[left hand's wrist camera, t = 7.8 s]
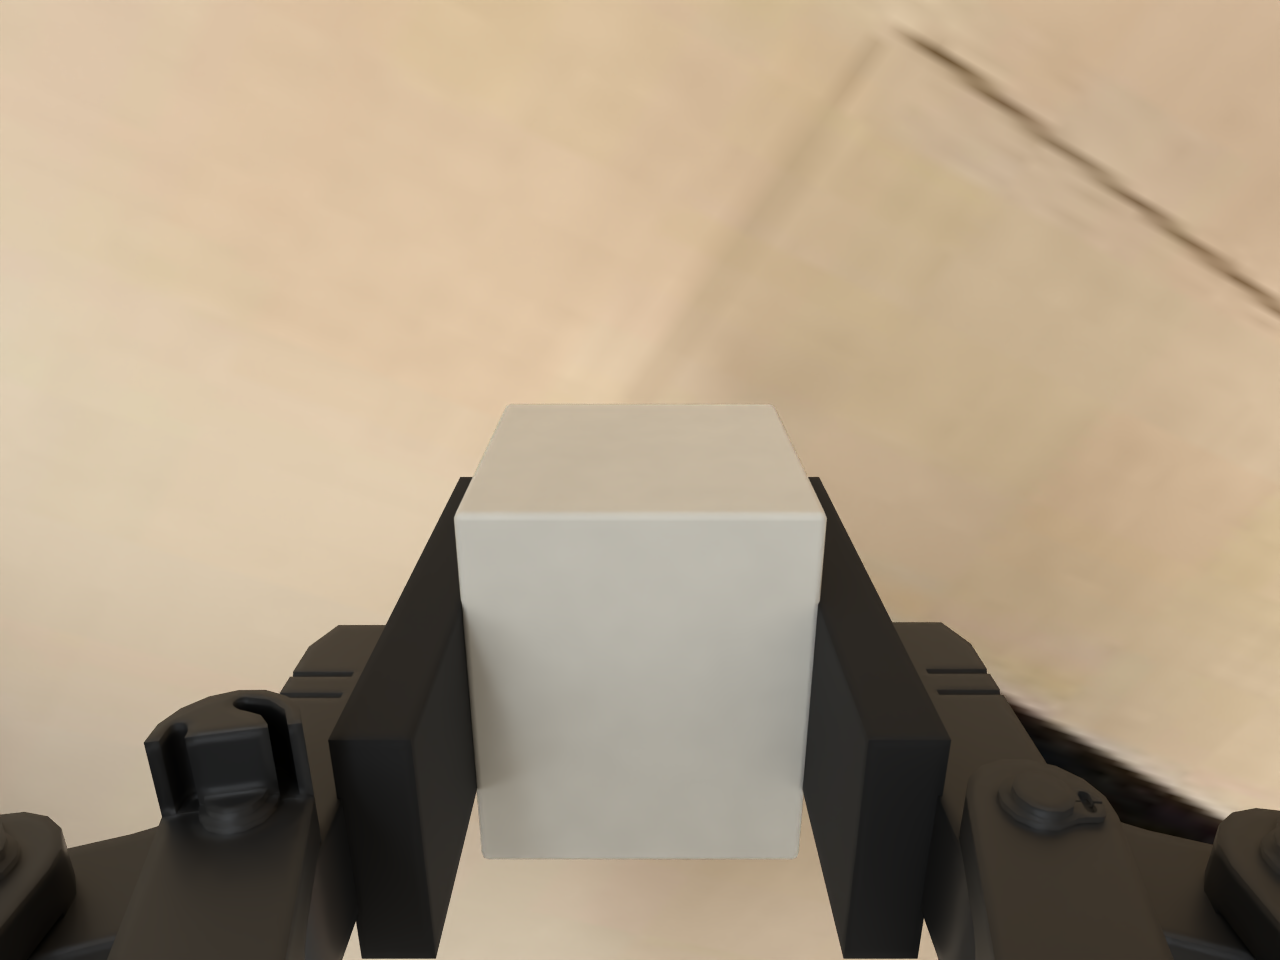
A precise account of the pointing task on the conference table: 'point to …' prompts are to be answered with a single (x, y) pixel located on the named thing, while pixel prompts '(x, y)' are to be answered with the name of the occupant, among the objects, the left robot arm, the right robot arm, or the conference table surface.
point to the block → (640, 631)
